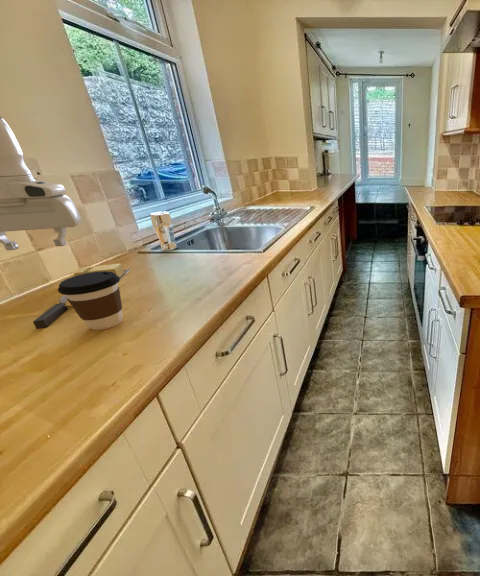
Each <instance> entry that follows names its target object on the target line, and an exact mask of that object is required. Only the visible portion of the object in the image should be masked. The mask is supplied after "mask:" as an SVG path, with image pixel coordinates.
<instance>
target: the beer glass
mask: <svg viewBox="0 0 480 576" xmlns="http://www.w3.org/2000/svg"><path fill="white" fill-rule="evenodd" d="M149 216H150V220H151V225H152V228H153V230H154V232H155V234H156V236H157V238H158V240H159V243H160V250H161V251H172V250H177V249H178V248H179V247H178V244H177V242H176V239H175V231H174V230H175V229H174V224H173V220H172V218H171V215H170V211H155V212H152V213H150V214H149Z"/></svg>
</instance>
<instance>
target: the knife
mask: <svg viewBox="0 0 480 576" xmlns="http://www.w3.org/2000/svg"><path fill="white" fill-rule="evenodd" d="M58 302H59V303H55V304H53V305H52V306H51V307H49V308H48V309H47V310H46V311H45V312H43V313H42V314H41V315H39V316H38V317H37V318H36V319H34V320H33V321H32V323H33V325H34V327H35V329H44V328H48V327H49V326H50V325H51V324H52V323H54V321H56V320H57V319H58V318H59V317H61V316H62V315H63V314H64V313H66V312H67V311H68V309H69V306H70V304H68V305H67V304H66V302H69V301H68V300H67V297H66V296H65V295H63V296H61V297H60V298H58Z"/></svg>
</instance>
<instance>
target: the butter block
mask: <svg viewBox="0 0 480 576" xmlns="http://www.w3.org/2000/svg"><path fill="white" fill-rule="evenodd" d="M124 270H125V269H124V267H123V264H122V263H111V264H101V265H95V266H93V267H92V268H91V269H90V270H89V271H88V273H92V272H101V271H108V272H113V273H115V274H116V275H117V276H119V278H120V277H121V276H122V275H123V274H124Z"/></svg>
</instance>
